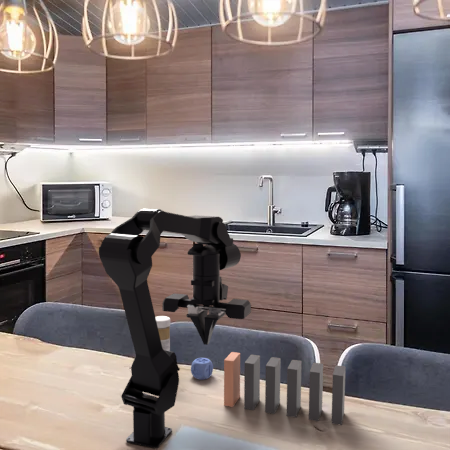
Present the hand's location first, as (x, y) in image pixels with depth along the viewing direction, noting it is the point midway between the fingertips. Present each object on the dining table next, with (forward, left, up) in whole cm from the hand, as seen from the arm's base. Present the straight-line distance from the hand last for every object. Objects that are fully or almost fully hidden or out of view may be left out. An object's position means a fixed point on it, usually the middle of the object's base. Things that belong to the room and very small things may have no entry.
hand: (206, 344), depth 105 cm
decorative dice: (+10, +5, -12) cm, 17 cm away
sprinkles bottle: (+10, +16, -12) cm, 22 cm away
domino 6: (0, -28, -12) cm, 31 cm away
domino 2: (0, -10, -12) cm, 16 cm away
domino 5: (0, -24, -12) cm, 27 cm away
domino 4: (0, -19, -12) cm, 23 cm away
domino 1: (0, -6, -12) cm, 13 cm away
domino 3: (0, -15, -12) cm, 19 cm away
